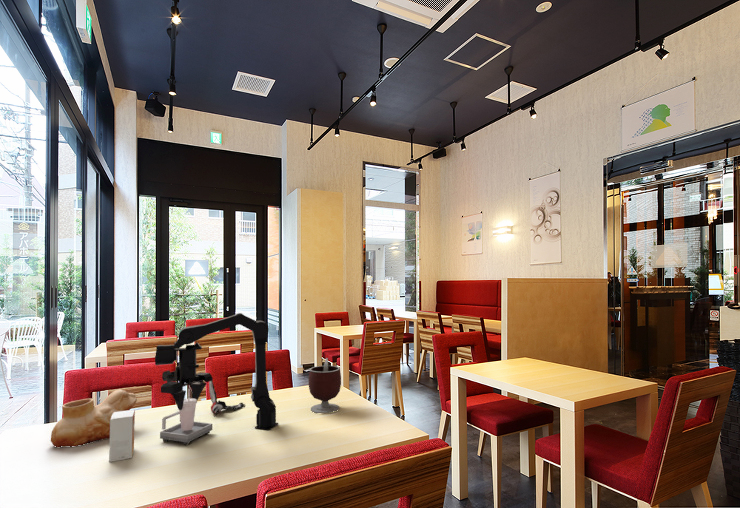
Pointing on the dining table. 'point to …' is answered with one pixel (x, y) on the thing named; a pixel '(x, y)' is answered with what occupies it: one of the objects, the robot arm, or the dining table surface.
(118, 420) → the small box
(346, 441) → the dining table surface
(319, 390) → the mate gourd
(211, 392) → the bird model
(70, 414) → the ceramic vessel
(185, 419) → the smoothie
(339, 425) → the dining table surface
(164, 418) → the grey tray
